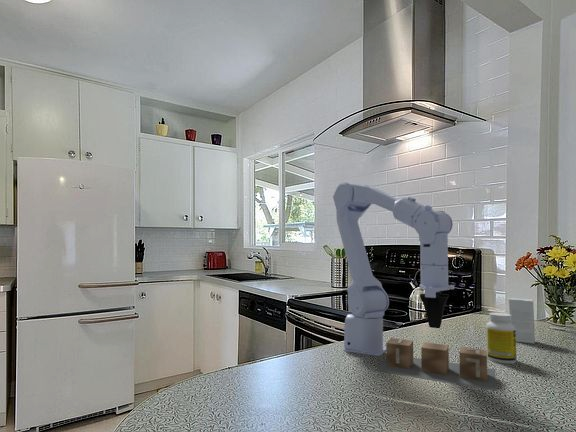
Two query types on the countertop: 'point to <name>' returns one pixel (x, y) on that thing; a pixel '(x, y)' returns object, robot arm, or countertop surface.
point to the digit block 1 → (399, 353)
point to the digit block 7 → (473, 363)
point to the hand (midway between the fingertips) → (434, 327)
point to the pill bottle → (501, 338)
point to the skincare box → (523, 319)
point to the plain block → (435, 358)
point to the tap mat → (451, 376)
